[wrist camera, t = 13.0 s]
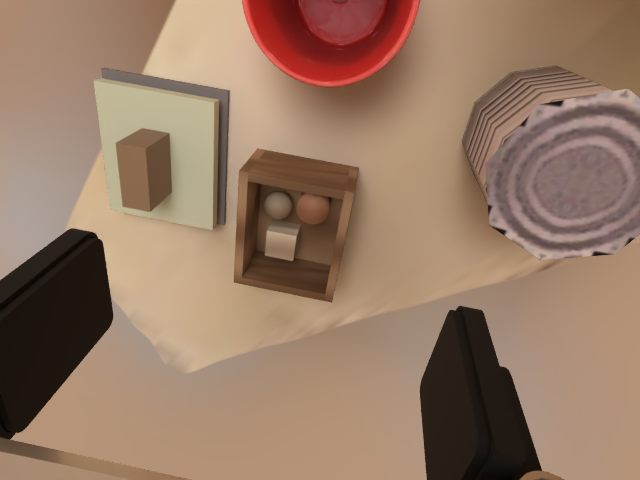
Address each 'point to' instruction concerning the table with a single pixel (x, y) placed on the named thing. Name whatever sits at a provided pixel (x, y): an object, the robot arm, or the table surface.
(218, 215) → the mat
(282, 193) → the box
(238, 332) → the table surface
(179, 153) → the lid
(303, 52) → the flower pot
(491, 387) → the robot arm
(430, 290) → the table surface
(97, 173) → the table surface
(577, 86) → the can
